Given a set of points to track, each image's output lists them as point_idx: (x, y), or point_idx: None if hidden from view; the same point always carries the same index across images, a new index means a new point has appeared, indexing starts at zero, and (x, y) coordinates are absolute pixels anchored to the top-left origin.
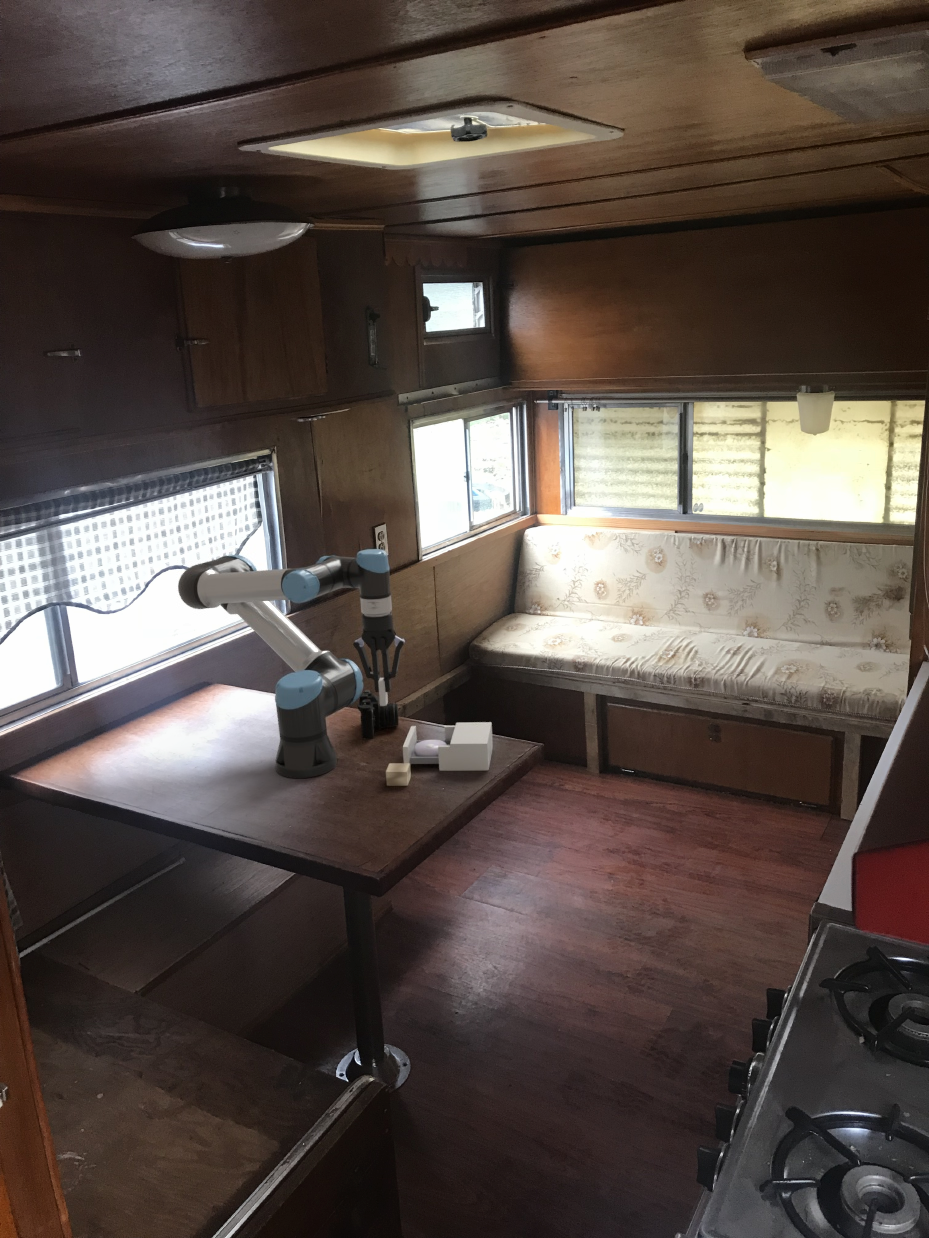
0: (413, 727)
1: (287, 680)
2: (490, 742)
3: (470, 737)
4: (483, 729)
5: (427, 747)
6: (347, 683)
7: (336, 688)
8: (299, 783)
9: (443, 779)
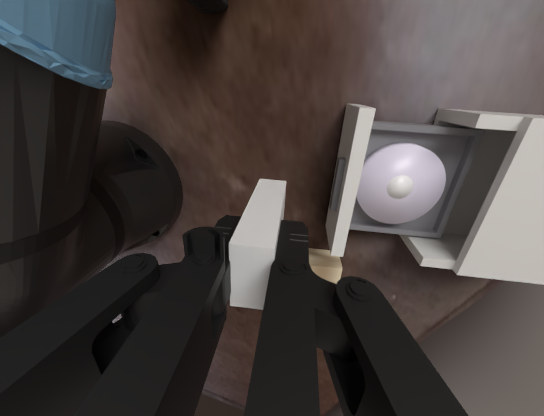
0: (366, 121)
1: None
2: None
3: (529, 245)
4: None
5: (390, 197)
6: (14, 148)
7: (8, 234)
8: (144, 251)
9: (399, 267)
